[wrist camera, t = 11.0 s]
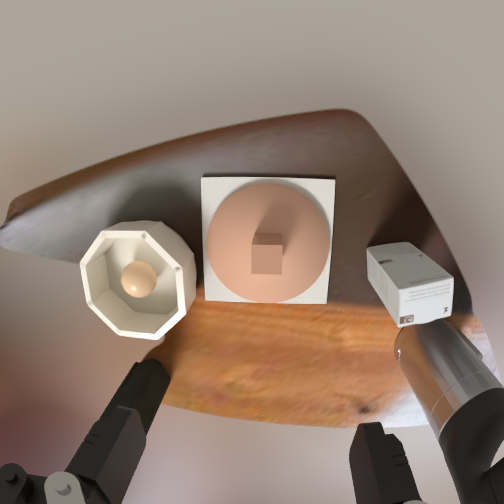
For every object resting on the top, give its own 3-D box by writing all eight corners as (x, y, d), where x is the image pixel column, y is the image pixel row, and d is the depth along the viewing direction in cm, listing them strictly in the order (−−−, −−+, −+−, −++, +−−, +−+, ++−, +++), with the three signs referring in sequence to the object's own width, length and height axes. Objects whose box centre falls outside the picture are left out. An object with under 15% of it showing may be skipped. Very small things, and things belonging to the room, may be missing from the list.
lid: (331, 185, 33) (342, 189, 28) (323, 301, 37) (331, 324, 32) (206, 183, 34) (193, 187, 29) (210, 298, 38) (200, 320, 33)
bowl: (194, 219, 36) (180, 231, 30) (200, 318, 40) (188, 343, 34) (100, 220, 37) (75, 230, 31) (113, 311, 41) (93, 331, 35)
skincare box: (408, 239, 35) (457, 273, 23) (409, 273, 36) (454, 316, 25) (363, 247, 36) (399, 285, 24) (365, 281, 37) (398, 330, 25)
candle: (157, 357, 42) (84, 494, 18) (172, 383, 44) (115, 519, 20) (131, 362, 43) (53, 486, 19) (146, 387, 44) (83, 511, 20)
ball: (160, 256, 37) (146, 268, 32) (163, 290, 38) (151, 305, 34) (128, 255, 37) (112, 266, 33) (132, 287, 38) (117, 302, 34)
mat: (334, 179, 34) (335, 179, 33) (325, 302, 38) (326, 303, 37) (202, 177, 35) (201, 177, 34) (206, 298, 39) (205, 300, 38)
